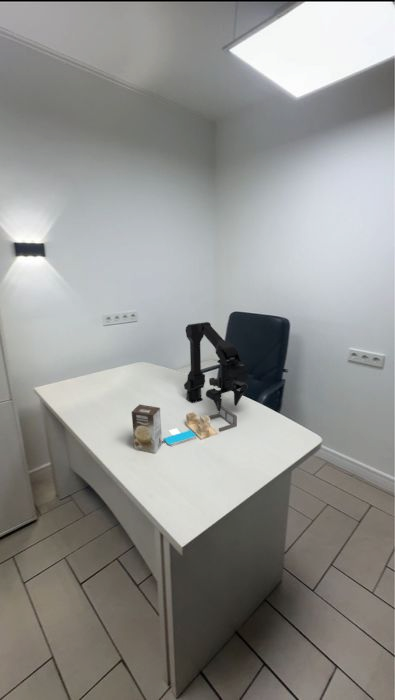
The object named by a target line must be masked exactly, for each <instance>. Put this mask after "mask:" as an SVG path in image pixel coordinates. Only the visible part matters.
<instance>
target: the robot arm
mask: <svg viewBox="0 0 395 700" xmlns="http://www.w3.org/2000/svg"><path fill="white" fill-rule="evenodd" d="M185 335H186V339H187V340H188V341H189V350H190V353H189V355H190V356H189V358H190V359H189V360H190V371H189V372H188V374H187V380H186V382H184V384H183V386H184V390H186V400H188V402H190V403H191V404H192V403H193V404H194V403H197V402H200V401H203V400H204V399H203V398H202V389H204V387H205V383H206V375H205V373H204V372H203V371H202V365H201V361H202V359H201V355H202V354H201V352H202V351H201V341H202V340H203V338H204V337H205V338H206V339H207V340H208V341H209V343H210V344H211V345H212V346H213V347H214V349H215V354H216V355H217V357H218V360H217V363H218V364H220V365H219V366H220V371H219V372H220V375H219V376H218V378H215V377H210V378H209V379H208V380H209V381H208V382H209V386H212V387H216V388H218V389H216V388H210V389H208V390H206V392H205V397H207V398H208V399H210V400H211V401H213V403H214V405H215V407H216V409H217V412H218V413H219V412H220V409H221V405H222V402H223V398H222V397H223V396H222V395H224V394H227V393H230V392H233V404H234V406H236V407H237V405H238V404H239V402H240V400H241V398H242V397H243V396H244V393H246V391H248V388H249V387H248V384H247V383H245V382H246V381H247V380H248V378H249V374H250V373H249V370H248V369H247V368H246V365H245V364H242V359H241V356H240V354H239V352H238V350H237V348H236V346H235V345H233V344H232V343H231V342H229V341H227V340H224V339H223V338H222V337H221V335H220V334H219V333H218V332H217V331H216V330H215V328H213V327H212V323H211V322H209V321H205V322H197V323H189V324H187V325H186V327H185Z"/></svg>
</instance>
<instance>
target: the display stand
mask: <svg viewBox="0 0 395 700" xmlns="http://www.w3.org/2000/svg"><path fill="white" fill-rule="evenodd" d="M185 415H186V417H185V419H186V421H185V422H184V425H185V426H186V427H187V428H188V429H189V430H191V431H192V432H193V433H194V434H195V435H196V438H198V439H199V440H205V439H207V438H210V437H214V436H217V435H218V430H216V429H215V428H214V427H213V426H211V419H210V417H208V416H209V415H207V414H204V415H202V416H200V417H199V418H197V416H198V415H197V414H196V413H195V412H193V411H192V412H189V413H186V414H185Z"/></svg>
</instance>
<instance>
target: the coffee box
mask: <svg viewBox="0 0 395 700" xmlns="http://www.w3.org/2000/svg"><path fill="white" fill-rule="evenodd" d="M161 418H162V417H161V408H160V407H157V406H152V405H150V406H149V405H147V404H146V405H144V404H140V403H139V404H138V405H137V406H136V407H135V408H134V409H133V410H131V420H132V432H133V433H132V434H133V445H134V450H136V451H142V452H147V453H151V454H156V453H157V452H158V450H159V449H160V448H161V447H162V445H163V444H162V441H163V438H162V420H161Z"/></svg>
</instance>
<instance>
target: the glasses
mask: <svg viewBox="0 0 395 700" xmlns="http://www.w3.org/2000/svg"><path fill="white" fill-rule="evenodd" d="M207 416H208V417H210V420H213V419H216V418H221V419H223V420H224V421H225V422H226V423H227V424H228V425H224V426H221V427H219V428H218V431H219V432H220V433H221V432H224V431H227V430H230V429H232V428H235V427H237V426H238V422H237V421H238V420H237V419H238V415H237V414H235V413H234V412H232V411H230V409H228V408H227V407H225V406H223V405H222V404H221V409H220V412H219V411H218V413H216V414H215V413H214V414H212V415H207Z"/></svg>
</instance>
